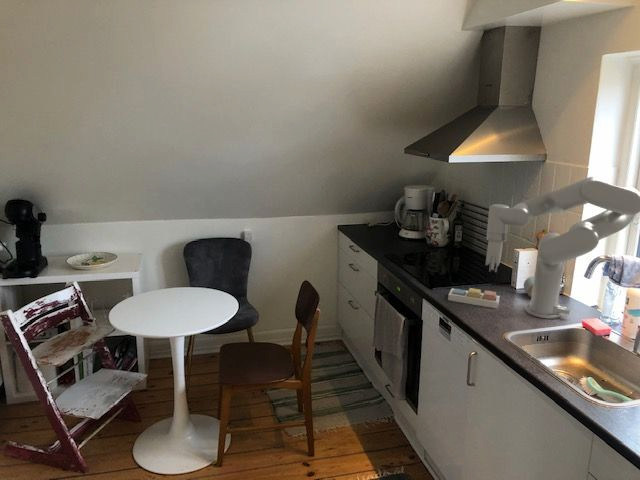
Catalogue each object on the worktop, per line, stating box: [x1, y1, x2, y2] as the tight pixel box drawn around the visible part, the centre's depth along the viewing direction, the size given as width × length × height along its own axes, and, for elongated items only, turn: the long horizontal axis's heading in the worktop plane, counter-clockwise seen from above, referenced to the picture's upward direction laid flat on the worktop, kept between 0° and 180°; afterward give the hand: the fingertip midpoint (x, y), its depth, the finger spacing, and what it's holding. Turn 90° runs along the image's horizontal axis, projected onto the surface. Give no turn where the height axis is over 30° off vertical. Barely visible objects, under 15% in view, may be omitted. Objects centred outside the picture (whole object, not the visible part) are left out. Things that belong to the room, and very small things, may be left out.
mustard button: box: [467, 287, 482, 298], centre depth 206 cm, size 4×4×3 cm
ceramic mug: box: [523, 276, 534, 298], centre depth 213 cm, size 11×8×8 cm
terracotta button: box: [483, 290, 497, 301], centre depth 204 cm, size 4×4×3 cm
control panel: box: [447, 287, 501, 309], centre depth 207 cm, size 19×8×2 cm, turn 67°
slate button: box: [453, 288, 467, 296], centre depth 209 cm, size 4×4×3 cm
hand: (491, 280), depth 202 cm, fingers closed
